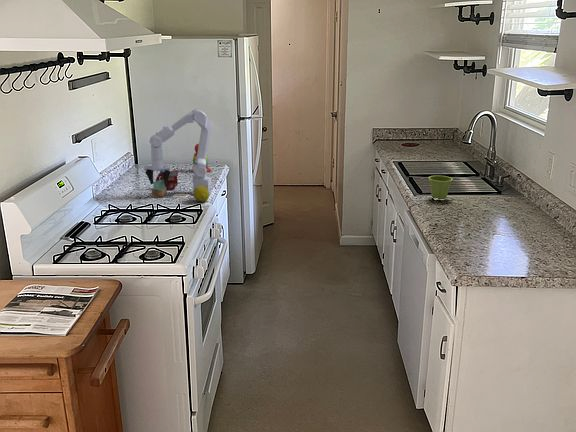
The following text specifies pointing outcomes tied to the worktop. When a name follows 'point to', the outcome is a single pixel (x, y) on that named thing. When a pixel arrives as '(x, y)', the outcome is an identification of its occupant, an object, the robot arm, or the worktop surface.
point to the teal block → (158, 185)
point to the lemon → (201, 193)
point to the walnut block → (159, 193)
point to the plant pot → (440, 186)
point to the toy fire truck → (169, 179)
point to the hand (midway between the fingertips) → (158, 184)
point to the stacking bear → (196, 157)
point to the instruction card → (181, 195)
